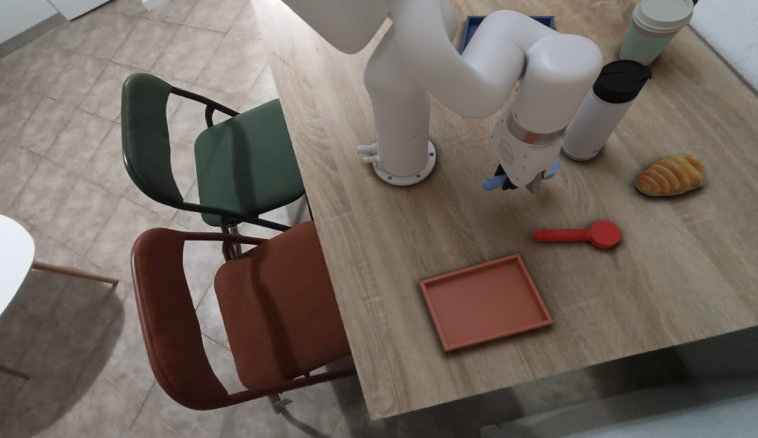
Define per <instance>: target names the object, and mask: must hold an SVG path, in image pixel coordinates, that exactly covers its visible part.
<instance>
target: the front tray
mask: <svg viewBox="0 0 758 438" xmlns="http://www.w3.org/2000/svg"><path fill="white" fill-rule="evenodd" d="M419 287H420V291H421V293H422V295H423V298H424V300H425V303H426V306H427V310H428V311H429V314H430V317H431V319H432V322H433V325H434V328H435V330H436V333H437V335H438V338H439V342H440V343H441V346H442V348H443V352H444V353H448V352H451V351H455V350H459V349H463V348H467V347H471V346H474V345H478V344H483V343H486V342H490V341H494V340H497V339H502V338H505V337H510V336H513V335H517V334H521V333H524V332H528V331H532V330H536V329H540V328H544V327H548V326H550V325H552V324H554V320H553V318H552V316H551V314H550V311H549V310H548V308H547V306H546V304H545V302H544V300H543V298H542V296H541V294H540V292H539V289H538V288H537V286H536V285H535V282H534V280H533V279H532V276H531V274H530V272H529V271H528V268H527V266H526V264H525V262H524V259H522V257H521V254H520V253H519V252H518V253H514V254H511V255H507V256H503V257H500V258H497V259H492V260H490V261H486V262H482V263H479V264H475V265H472V266H469V267H464V268H461V269H458V270H455V271H450V272H446V273H444V274H443V273H442V274H440V275H437V276H433V277H429V278H426V279H421V280H420V281H419Z"/></svg>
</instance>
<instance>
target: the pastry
mask: <svg viewBox="0 0 758 438" xmlns="http://www.w3.org/2000/svg"><path fill="white" fill-rule="evenodd" d="M707 173H708V171H707V168H706V166H705V165H704V163H703V162H702V161H701V159H699V158H698V157H695V156H694V155H691V154H689V153H681V154H678V155H672V156H666V157H664V158H662V159H660V160H658V161H655V162H654V163H652V164H651V165H650V166H649V167H648V168H647V169H646V170H644V171H643V172H642V173H641V174H639V176H638V178H637V180H636V182H635V187H636V188H637V190H638V191H639V192H640V193H641V194H644V195H646V196H649V197H650V196H651V197H661V196H664V197H665V196H668V197H669V196H676V195H681V194H684V193H686V192H688V191H692V190H695V189H697V188H700V187H704V186H705V185H706V184H707V178H708V175H707Z"/></svg>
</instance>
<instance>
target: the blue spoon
mask: <svg viewBox="0 0 758 438" xmlns="http://www.w3.org/2000/svg"><path fill="white" fill-rule="evenodd" d="M559 168H560V163H559V160H558V159H557V160H556V162H555V164H554V166H553V168H552V170H551V171H550V173H549V174H548V176H547V177H546V178H545V179H542V180H541V181H546V180H550V179H552V178H553V177H554V176H555V175H556V173H557V172H558V170H559ZM507 177H508V176H507V174H506V173H505V174H502V175H499V176H496V177H495V176H494V177H491V178H488V179H485V180H484V181H483V182H482V183H481V188H482V189H483V190H484V191H486V192H491V191H493V190H496V189H500V188H502V186H503V183H504V181H505V179H506V178H507Z"/></svg>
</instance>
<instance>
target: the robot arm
mask: <svg viewBox="0 0 758 438" xmlns="http://www.w3.org/2000/svg"><path fill="white" fill-rule="evenodd" d="M280 1H281V2H282V3H283V4H284V5H286V6H287V7H288V8H289V9H290V10H291V11H292V12H293V13H294V14H295V15H297V16H298V17H299V18H300V19H301V20H302V21H303V22H304V23H305V24H307V25H308V26H309V28H310V29H312V30H313V31H314V32H315V33H316V34H317V35H319V36H320V37H321V38H322V39H323V40H324V41H326V42H327V43H328V44H329V45H330V46H332V47H333V48H334V49H336V50H337V51H339V53H342V54H345V55H356V54H358V53H360V52H361V51H362V50H364V49H365V48H366V47H367V46H368V45H369V43H370V42H371V41H372V40H373V39H374V37H375V36H376V34H377V33H378V32H379V30H380V29H381V27H382V26H383V24H384V23H385V21H386V20H387V19H389V21H391V22H392V23H391V25H390V26H389V27H388V29H387V31H386V32H385V33H384V35H383V36H382V38H381V39H380V40H379V42H378V43H377V45H376V46H375V48H374V49H373V51H372V53H371V55H370V57H368V60H367V62H366V64H365V67H364V71H363V77H362V79H363V85H364V87H365V90H366V93H367V94H368V96H369V99H370V101H371V106H372V111H373V118H374V125H375V131H376V133H375V134H376V142H372V143H371V144H360V145H359V144H358V145H356V155H358V156H359V155H360V156H361V155H367V154H372V156H362V164H369V163H370V164H371V163H372V167H373V170H374V171H375V174H376V175H377V176H378V177H379V178H380V179H381V180H383V181H384V182H386V183H388V184H389V185H394V186H400V187H402V186H404V187H405V186H410V185H411V186H412V185H415V184H418V183H420V182H422V181H423V180H425V179H426V178H427V177H428V176H429V175H430V174H431V173H432V171H433V169H434V167H435V165H436V160H437V154H436V149H435V146H434V145H433V143H432V142H431V140H430V122H431V121H430V120H431V98H430V95H431V96H433V97H434V98H435V99H436V100H437V101H438V102H440V103H441V104H442V105H443V106H444V107H446V108H447V109H449V110H450V111H452V112H453V113H454V114H457V115H458V116H461V117H463V118H466V119H471V120H484V119H487V118H489V117H491V116H493V115H495V114H496V113H498V112H499V111H500V110H501V109H502V107H503V106H504V105H505V103H506V101H507V100H508V99H509V97H510V95H511V93H512V92H513V90H514V88H515V87H516V85H517V83H518V87H517V88H515V95H514V98H513V101H512V103H510V104H509V105H507V107H506V108H505V109H504V110H503V112H501V114H500V115H499V116H498V119H497V120H496V122H495V123H494V126H493V127H492V130H491V133H490V135H489V138H488V143H489V147H490V149H491V150H492V153H493V154H494V156H495V158H496V159H497V162H498V165H497V167H496V170H495V172H494V174H493V176H494V177H496V176H499V175H502V174H505V173H506V174H507V176H508V177H507V178H506V179H505V181H504V183H503V186H502V187H501V189H502V191H503V192H505V191H509V190H511V191H514V190H517V189H519V188H522V187H525V189H526V190H527V191H528V192H529V193H530V194H531V195H532V194H535V193H538V192H541V191H542V190H541V188H542V181H543V180H542V179H545V178H546V177H547V176H548V174H549V173H550V171H551V170H552V168H553V166H554V164H555V162H556V160H558V159H559V156H560V152H561V151H562V150H561V146H562V142H563V138H564V136H563V135H564V133H566V131H567V129H568V128H569V126H570V124H571V123H572V121H573V119H574V117H575V115H576V113H577V111H578V109H579V108H580V106H581V104H582V102H583V101H584V99H585V97H586V96H587V94H588V92H589V91H590V89H591V88H592V86H593V84H594V83H595V81H596V79H597V78H598V76H599V74H600V72H601V70H602V67H603V66H604V56H603V51H602V50H601V49H600V47H599V46H598V44H597V43H596V42H595V41H593V40H592V39H590V38H588V37H586V36H583V35H579V34H573V33H561V32H559V31H558V30H555V29H554V28H553V29H551V28H549V27H547V26H545V25H543V24H541V23H540V22H538V21H536V20H534V19H532V18H530V17H528V16H529V15H526V14H524V13H522V12H519V11H516V10H512V9H499V10H496V11H493V12H491V13H489V14H488V15H486V16H487V17H486V18H485V19H484V20H483V21H482V22H481V24H480V25H479V27H478V28H477V30H476V32H475V33H474V35H473V37H472V38H471V40H470V42H469V43H468V45H467V47H466V48H465V50H464V52H463V53H462V55H461V56H460V52H458V51H457V50H456V48H455V46H454V45H453V44H452V43H453V41H454V40H455V37H456V35H457V32H458V27H459V23H458V17H457V15H456V12H455V9H453V7H452V6H451V5H450V3H449V2H448V1H447V0H280Z"/></svg>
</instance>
